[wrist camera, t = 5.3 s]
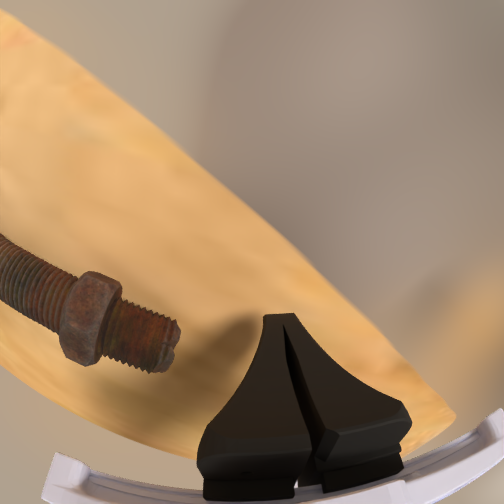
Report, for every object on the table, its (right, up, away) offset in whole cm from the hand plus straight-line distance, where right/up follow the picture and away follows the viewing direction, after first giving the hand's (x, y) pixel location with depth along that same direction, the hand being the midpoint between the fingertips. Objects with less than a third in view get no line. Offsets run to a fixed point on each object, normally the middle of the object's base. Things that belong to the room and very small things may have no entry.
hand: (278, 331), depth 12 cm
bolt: (-12, +2, +1) cm, 12 cm away
